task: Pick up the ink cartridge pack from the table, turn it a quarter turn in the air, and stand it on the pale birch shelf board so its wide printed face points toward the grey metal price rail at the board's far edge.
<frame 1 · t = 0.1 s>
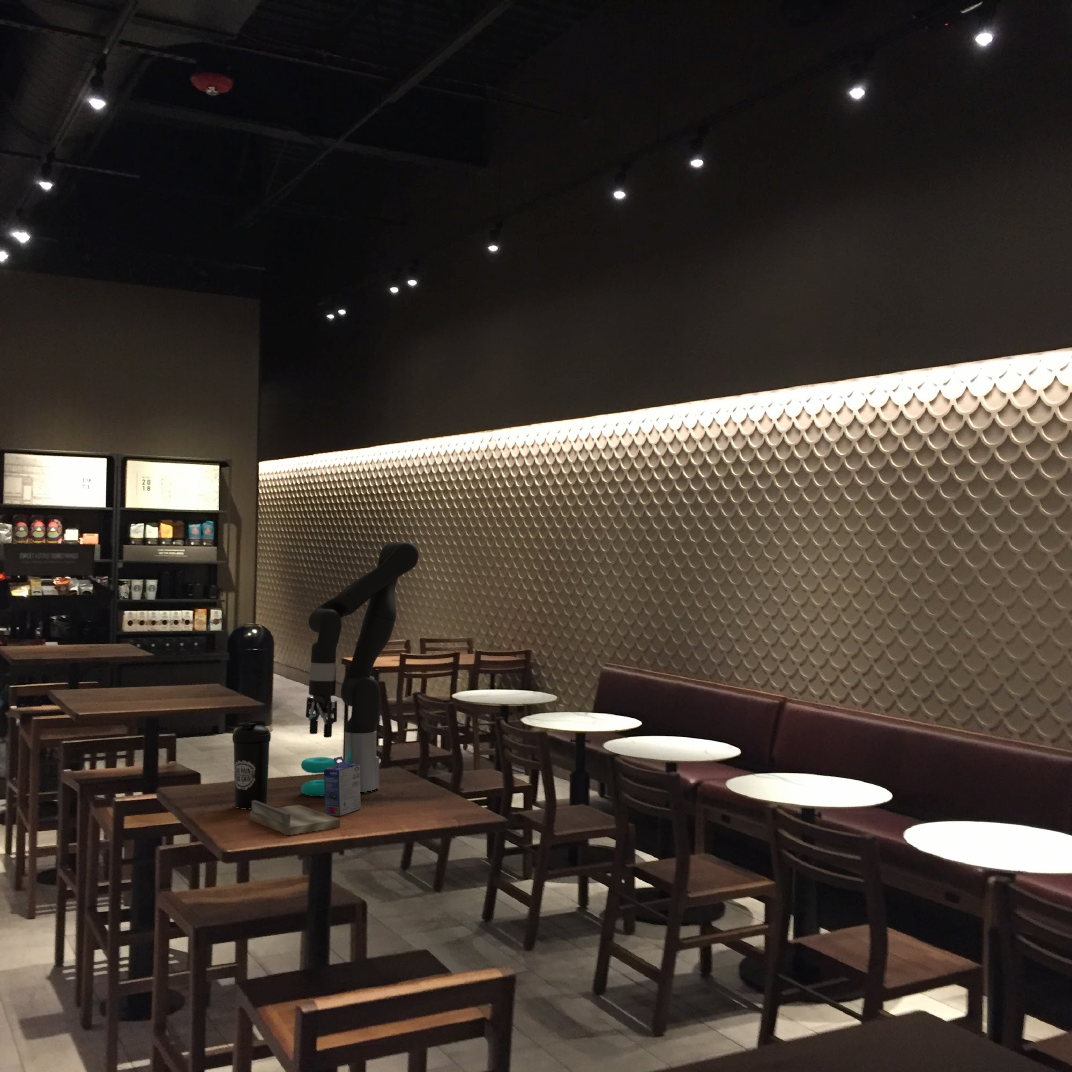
hand: (320, 735, 306), 17 cm above the table, tool pointing down, fingers open, 8 cm apart
shelf board: (294, 823, 273), on the table
water bottle: (250, 806, 293), on the table
ink cartridge box: (342, 812, 286), on the table
donuts: (318, 794, 309), on the table
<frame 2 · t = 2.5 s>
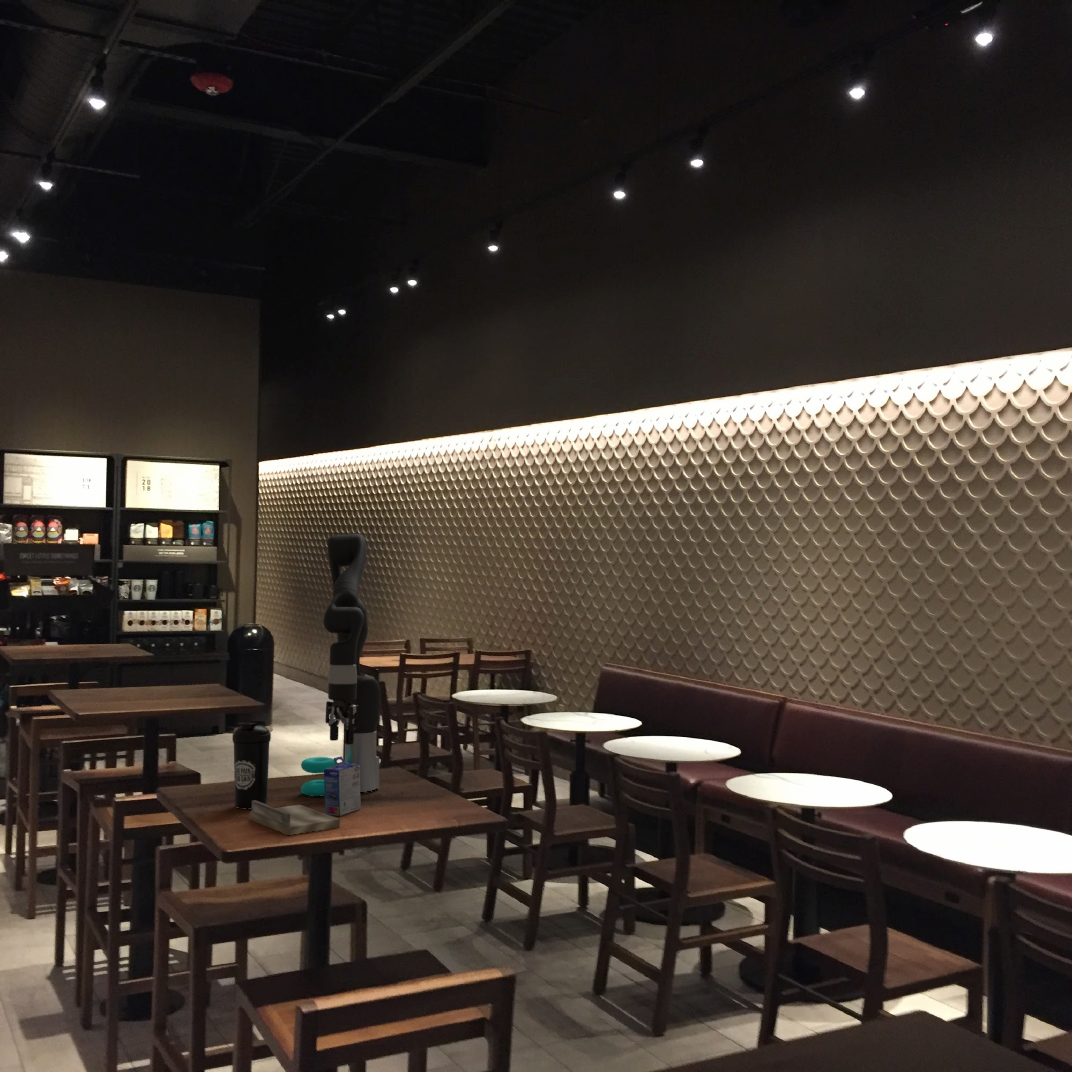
hand: (341, 742, 286), 18 cm above the table, tool pointing down, fingers open, 8 cm apart
nothing on the table moved.
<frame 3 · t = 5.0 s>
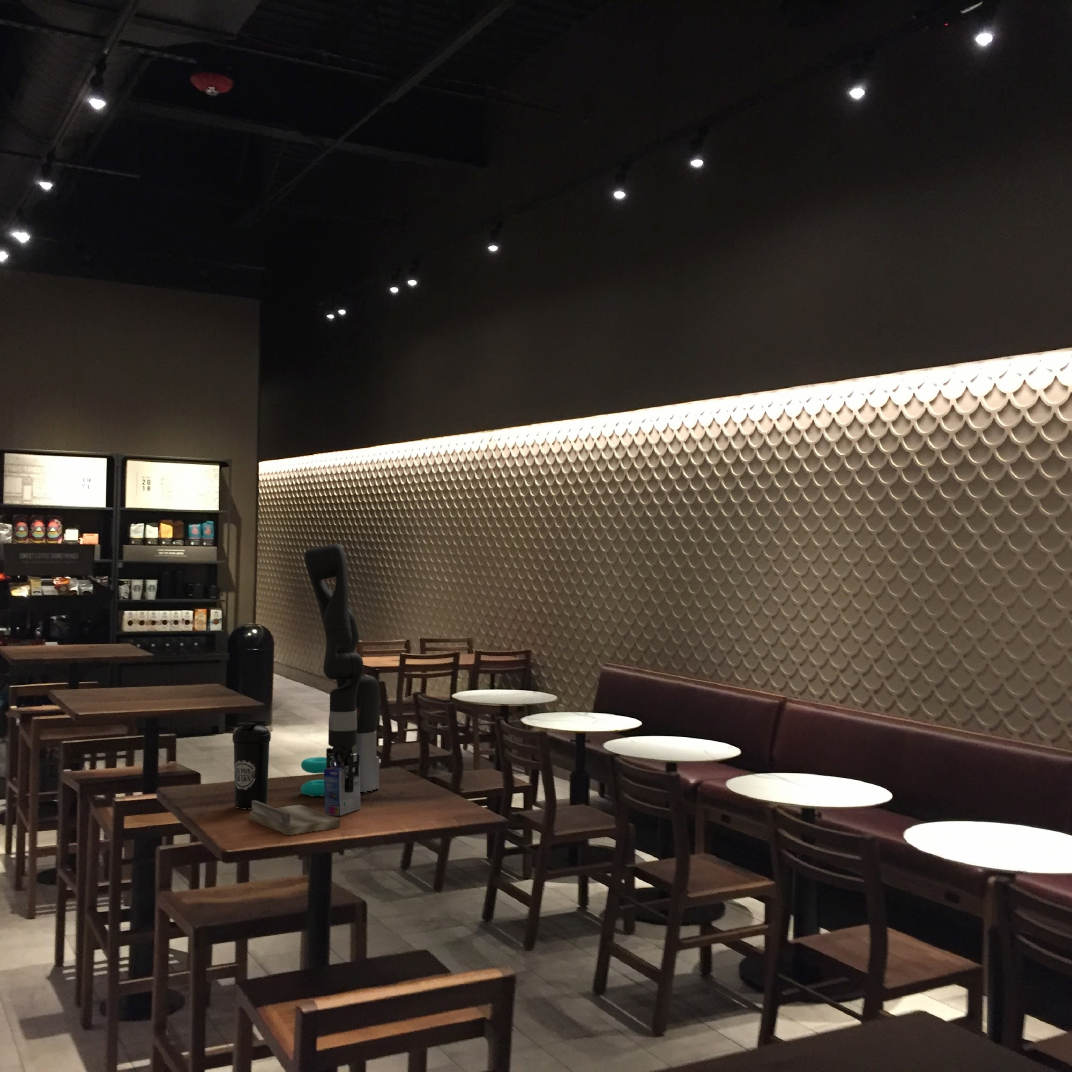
hand: (342, 789, 286), 6 cm above the table, tool pointing down, fingers closed on ink cartridge box, 7 cm apart
ink cartridge box: (342, 812, 286), on the table, touching gripper
everything else where it was.
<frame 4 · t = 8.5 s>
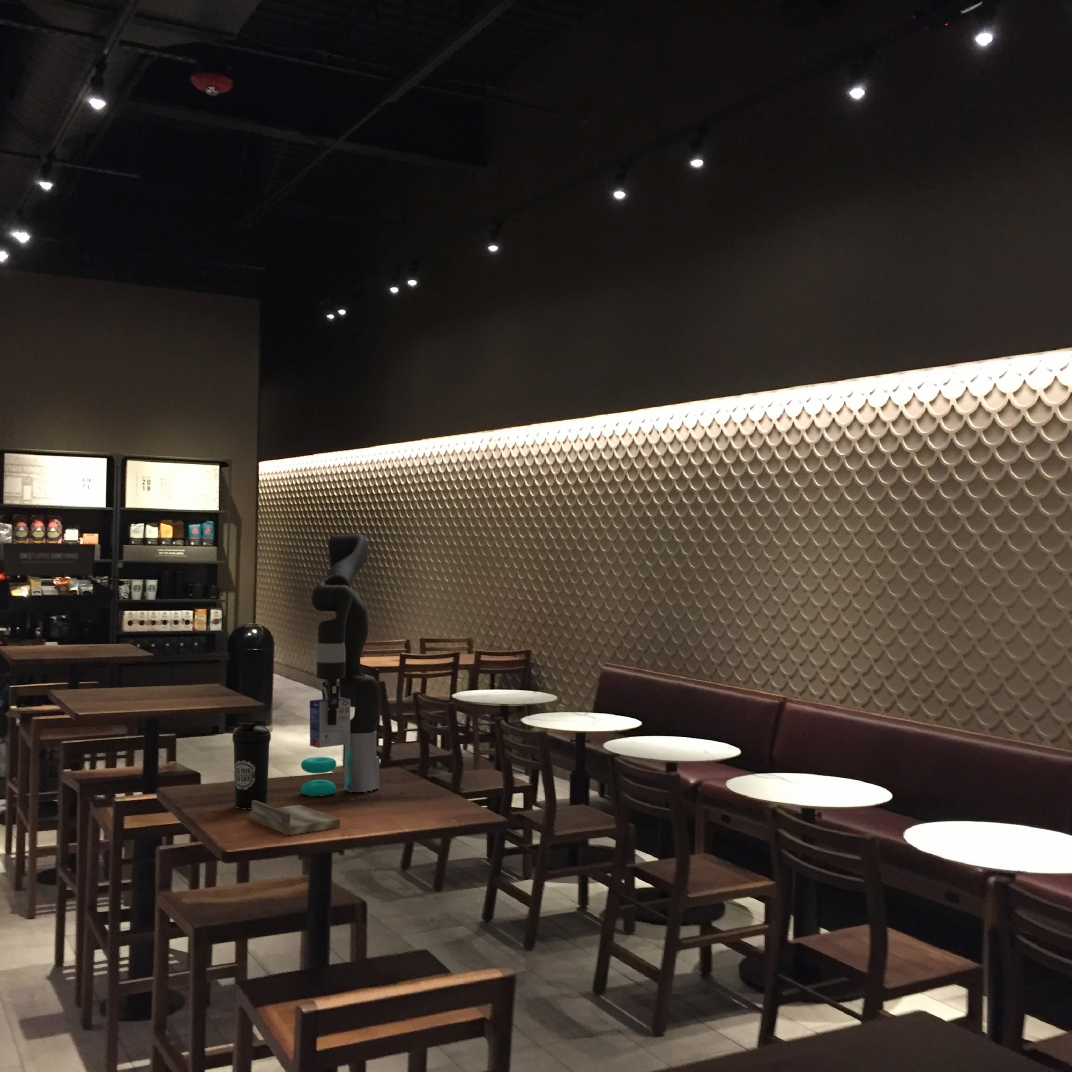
hand: (330, 722, 283), 24 cm above the table, tool pointing down, fingers closed on ink cartridge box, 7 cm apart
ink cartridge box: (329, 746, 283), point 18 cm above the table, touching gripper
everything else where it was.
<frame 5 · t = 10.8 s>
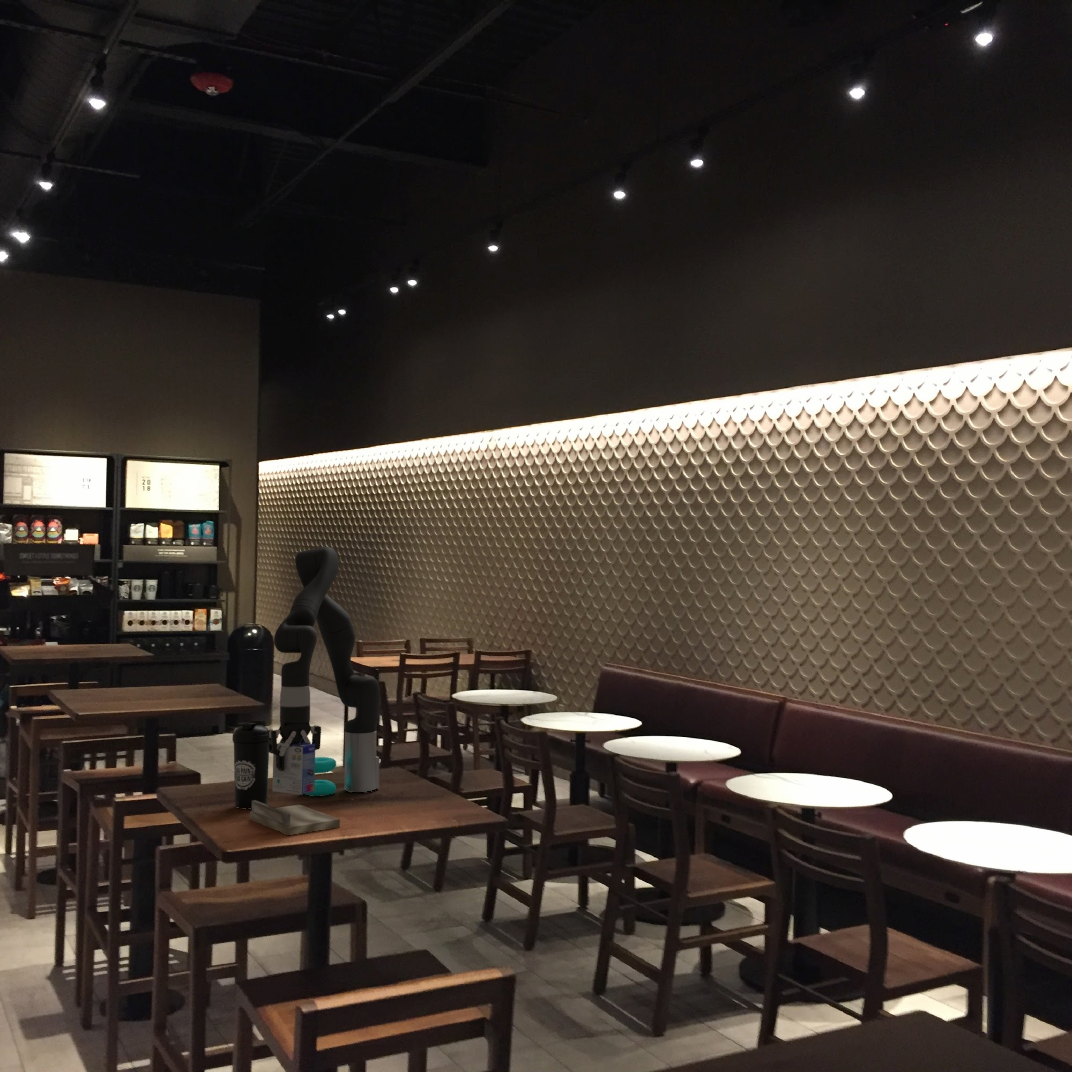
hand: (294, 768, 273), 14 cm above the table, tool pointing down, fingers closed on ink cartridge box, 7 cm apart
ink cartridge box: (294, 792, 273), point 8 cm above the table, touching gripper
everything else where it was.
when the fingers open (9 cm above the table, at t = 12.4 s): ink cartridge box drops 1 cm, resting on shelf board.
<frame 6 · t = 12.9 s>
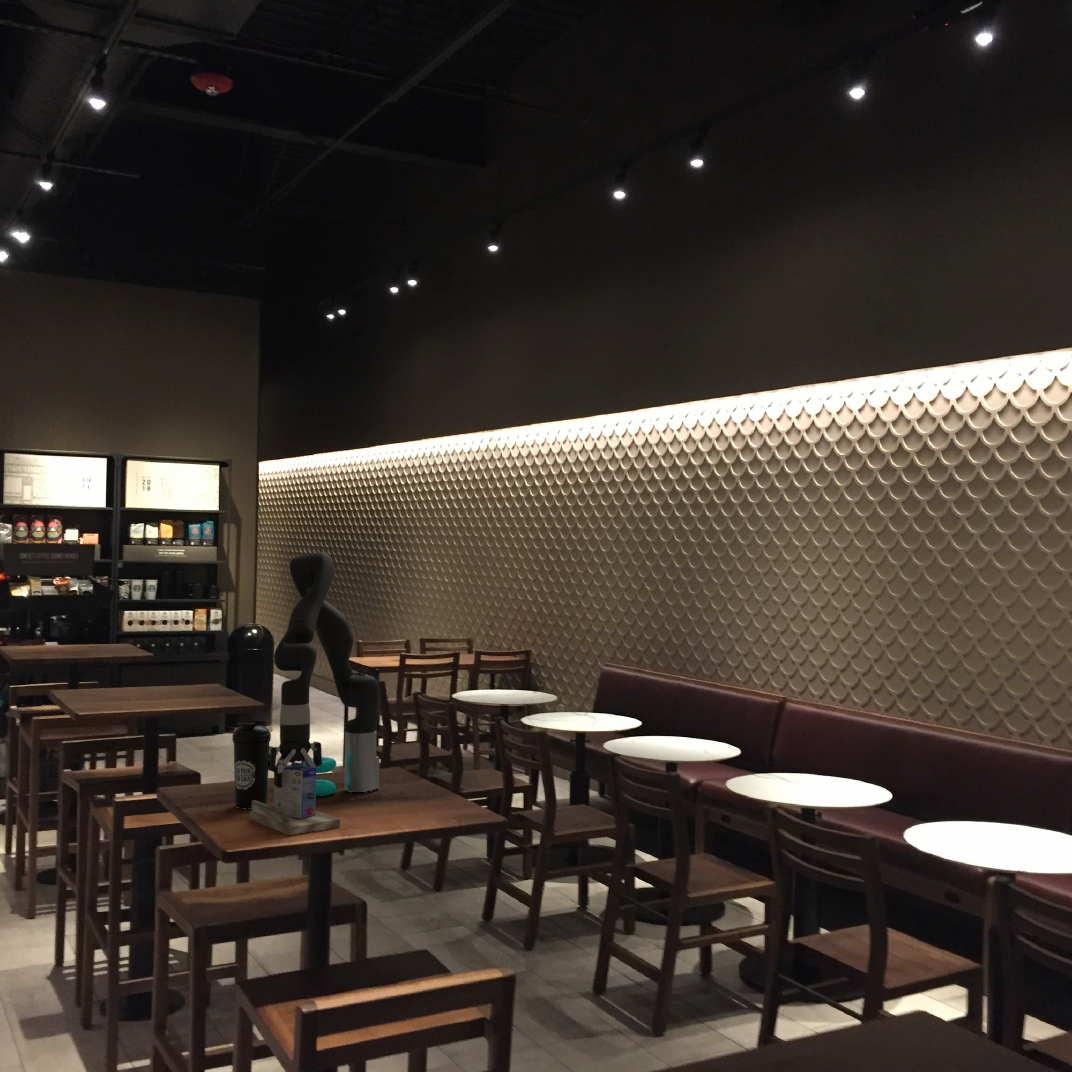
hand: (294, 785, 273), 10 cm above the table, tool pointing down, fingers open, 8 cm apart
ink cartridge box: (295, 816, 273), point 2 cm above the table, touching shelf board
everything else where it was.
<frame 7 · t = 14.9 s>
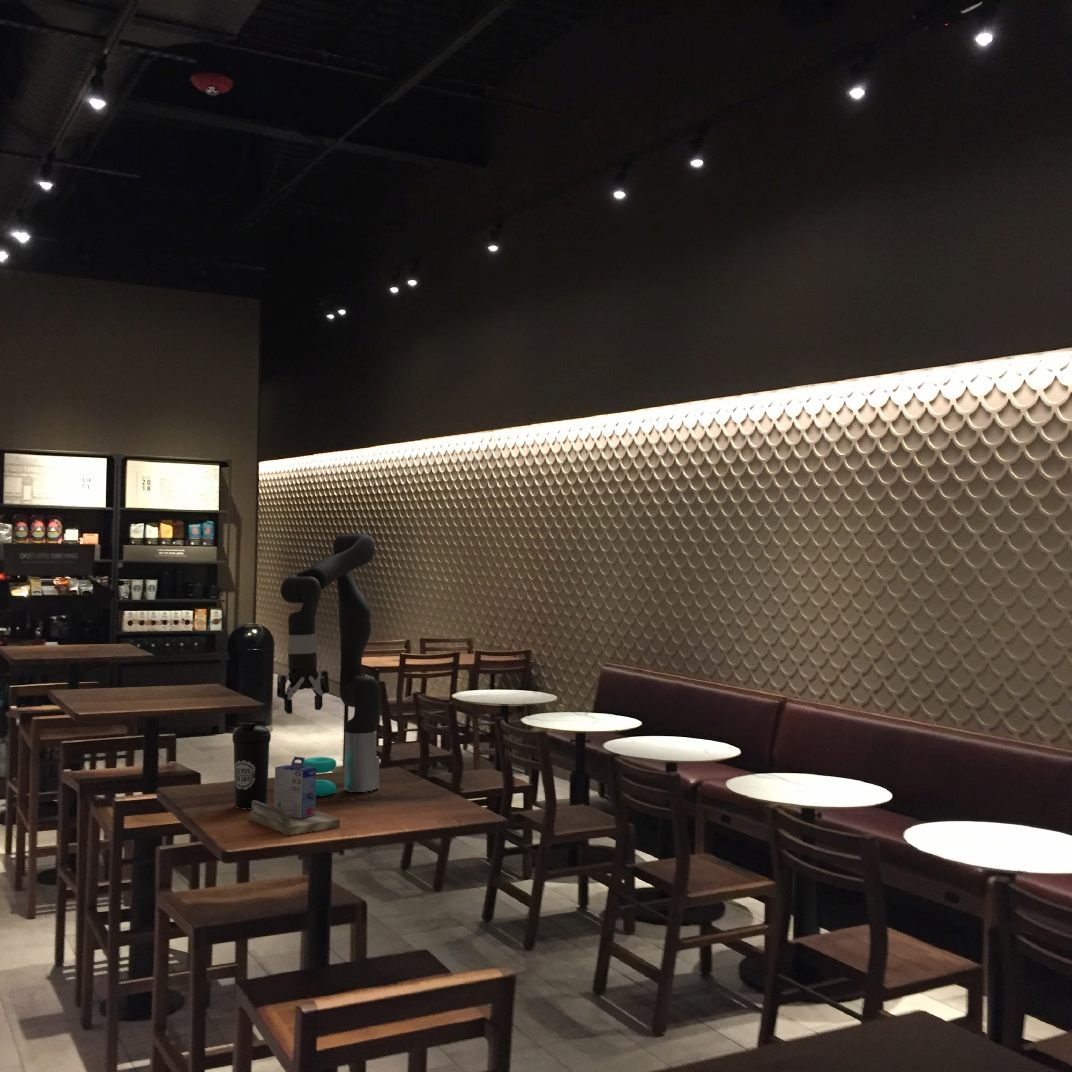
hand: (303, 711, 287), 27 cm above the table, tool pointing down, fingers open, 8 cm apart
nothing on the table moved.
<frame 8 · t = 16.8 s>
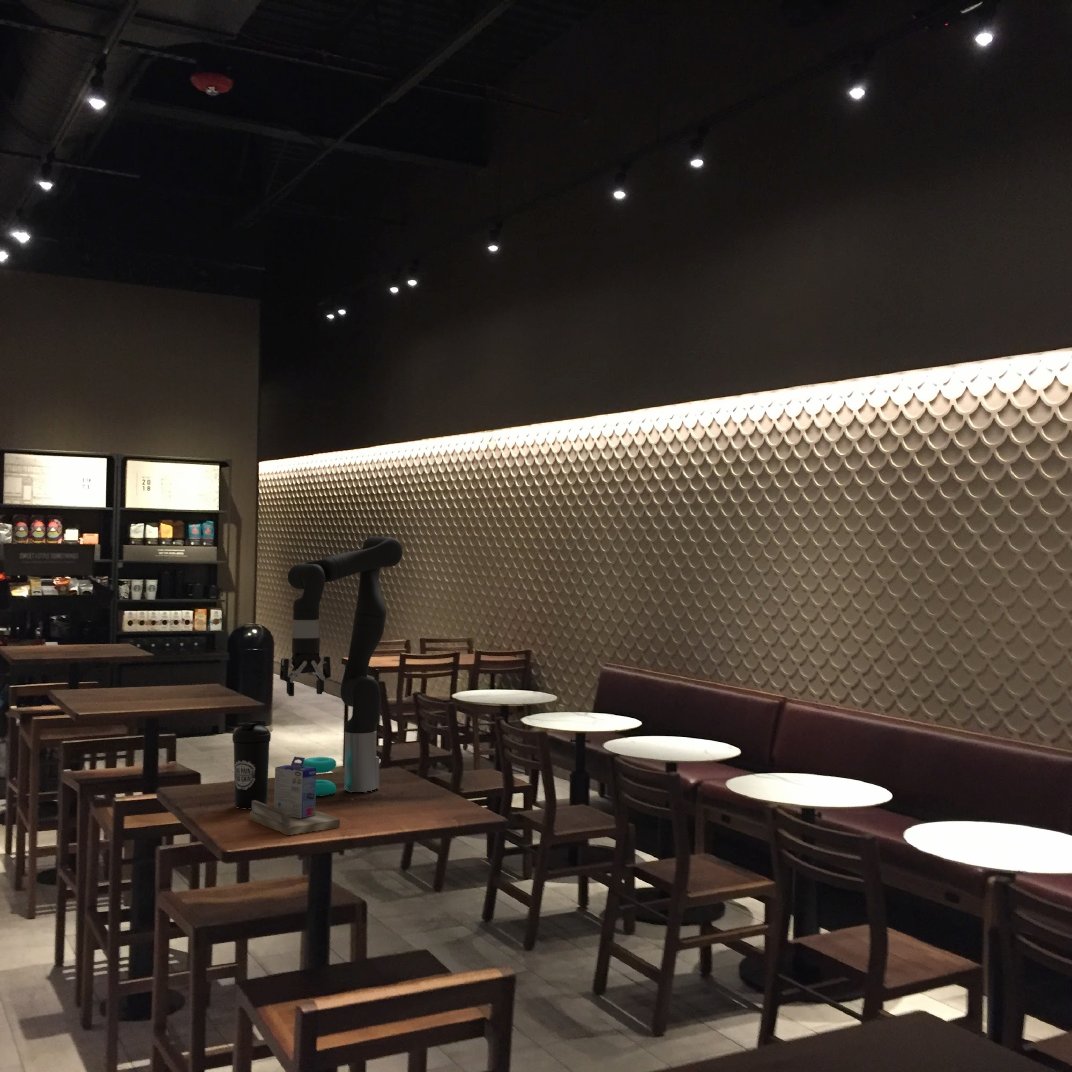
hand: (305, 695, 295), 30 cm above the table, tool pointing down, fingers open, 8 cm apart
nothing on the table moved.
at the end: ink cartridge box inside the target area on the shelf board (0.3 cm from its centre), point 1.8 cm above the shelf board's base; ink cartridge box tilted 0°; the gripper is holding nothing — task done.
